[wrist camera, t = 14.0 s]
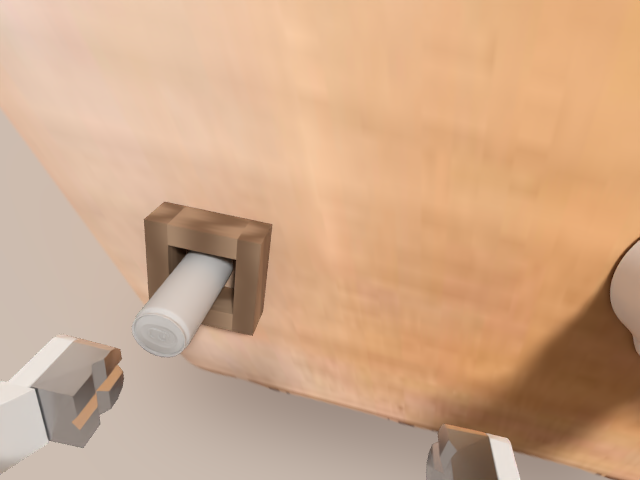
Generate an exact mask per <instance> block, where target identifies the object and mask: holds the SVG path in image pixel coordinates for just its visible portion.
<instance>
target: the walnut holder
mask: <svg viewBox="0 0 640 480" xmlns="http://www.w3.org/2000/svg"><path fill="white" fill-rule="evenodd" d="M144 227H145V243H146V259H147V275H148V291H149V300H150V298H151V297H152V296H153V295H154V293H155V292H156V291H157V290H158V289H159V287H160V286H161V285H162V284H163V283H164V281H165V280H166V279H167V278H168V276H169V275H170V274H171V273H172V272H173V270H174V269H175V268H176V267H177V265H178V264H179V263H180V262H181V261H182V259H183V258H184V257H185V256H186V249H189V250H193V251H198V252H203V253H207V254H212V255H216V256H221V257H226V258H230V259H235V260H236V270H235V286H234V289H232V288H228V287H223V288H222V290H221V291H220V293H219V295H218V296H217V298H216V300H215V301H214V303H213V305H212V307H211V308H210V310H209V312H208V313H207V315H206V317H205V318H204V320H203V322H202V323H201V324H203V325H207V326H212V327H216V328H221V329H225V330H230V331H234V332H238V333H243V334H247V335H252V336H253V333H254V331H255V329H256V326H257V324H258V322H259V319H260V317H261V315H262V312H263V306H264V297H265V288H266V278H267V269H268V260H269V250H270V241H271V232H272V224H268V223H263V222H258V221H254V220H249V219H244V218H239V217H235V216H230V215H225V214H220V213H216V212H211V211H206V210H201V209H196V208H192V207H187V206H182V205H177V204H173V203H168V202H164V203H163V204H161V205H160V206H159V207H158V208H157V209H156V210H154V211H153V212H152V213H151V214H150V215H149V216H147V217H146V218H145V219H144Z"/></svg>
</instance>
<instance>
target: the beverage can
mask: <svg viewBox="0 0 640 480" xmlns="http://www.w3.org/2000/svg"><path fill="white" fill-rule="evenodd" d="M232 270H233V261H232V259H230V258H226V257H221V256H216V255H212V254H207V253H203V252H198V251H193V250H190V251H189V252H188V253H187V254H186V256H185V257H184V258H183V259H182V261H181V262H180V263H179V264H178V265H177V267H176V268H175V269H174V270H173V272H172V273H171V274H170V275H169V276H168V278H167V279H166V280H165V281H164V283H163V284H162V285H161V286H160V287H159V289H158V290H157V291H156V292H155V293H154V295H153V296H152V297H151V298H150V300H149V301H148V302H147V303H146V304H145V306H144V307H143V308H142V309H141V311H140V312H139V313H138V314H137V316H136V318H135V321H134V322H133V325H132V333H133V336H134V338H135V340H136V341H137V343H138V344H139V345H140V346H141V347H142V348H143V349H145V350H146V351H148V352H149V353H151V354H154V355H156V356H160V357H173V356H176V355H178V354H180V353H181V352H182V351H183V350H184V349H185V348H186V347H187V346H188V345H189V343H190V342H191V340H192V338H193V337H194V335H195V333H196V332H197V330H198V328H199V327H200V325H201V323H202V322H203V320H204V318H205V317H206V315H207V313H208V312H209V310H210V308H211V307H212V305H213V303H214V301H215V300H216V298H217V296H218V295H219V293H220V291H221V290H222V288H223V286H224V285H225V283H226V281H227V280H228V278H229V276H230V275H231V273H232Z"/></svg>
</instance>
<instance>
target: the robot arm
mask: <svg viewBox="0 0 640 480" xmlns="http://www.w3.org/2000/svg"><path fill="white" fill-rule="evenodd" d="M610 299H611V304H612V307H613V310H614V312H615V314H616V316H617V317H618V319H619V320H620V321H621V322H622V323H623V324H624V325H625V326H626V327H627V328H628V329H629V331H630V332H631V333H632V335H633V340H634V346H635V349H636V352H637V353H638V354H639V355H640V240H639V241H638V242H637V243H636V244H635V245H634V246H633V247H632V248H631V249H630V250H629V251H628V252H627V253H626V255H625V256H624V257H623V259H622V260H621V262H620V263H619V265H618V267H617V268H616V271H615V273H614V275H613V278H612V282H611V287H610ZM121 359H122V357H121V351H120V349H118V348H115V347H111V346H107V345H103V344H99V343H96V342H92V341H88V340H84V339H80V338H76V337H72V336H68V335H63V334H60V335H57V336H55V337H54V338H52V339H51V340H50V341H49V342H48V343H47V344H46V345H45V346H44V347H43V348H42V349H41V350H40V351H39V352H38V353H37V354H36V355H35V356H34V357H33V358H32V359H31V360H30V361H29V362H28V363H27V364H26V365H25V366H24V367H22V368H21V370H19V371H18V372H17V373H16V374H15V375H14V376H13V377H12V378H11V379H10V380H9V381H8V382H4V381H0V474H2V473H3V472H5V471H6V470H8V469H9V468H11V467H12V466H14V465H16V464H17V463H19V462H20V461H22V460H23V459H25V458H26V457H28V456H29V455H31V454H33V453H34V452H36V451H37V450H38V449H40V448H42V447H43V446H45V445H46V444H48V443H49V441H53V442H58V443H62V444H67V445H72V446H76V447H81V448H84V446H85V445H86V443H87V442H88V441H89V439H90V438H91V437H92V435H93V434H94V432H95V431H96V429H97V428H98V427H99V425H100V414H102V413H104V412H106V411H108V410H109V409H111V408H112V406H113V405H114V404H115V402H116V401H117V399H118V397H119V394H120V392H121V390H122V387H123V380H124V375H123V371H122V369H121V368H120V367H119V366H118V365H117V364H118V363H119V362H120V361H121ZM426 480H521V479H520V476H519V472H518V469H517V464H516V461H515V457H514V453H513V449H512V446H511V442H510V441H509V440H508V438H505V437H501V436H496V435H492V434H488V433H484V432H481V431H476V430H472V429H467V428H462V427H458V426H453V425H449V424H443V425H442V426H441V427H440V429H439V431H438V442H437V443H435V444H433V445H432V447H431V449H430V452H429V455H428V460H427V469H426Z"/></svg>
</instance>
